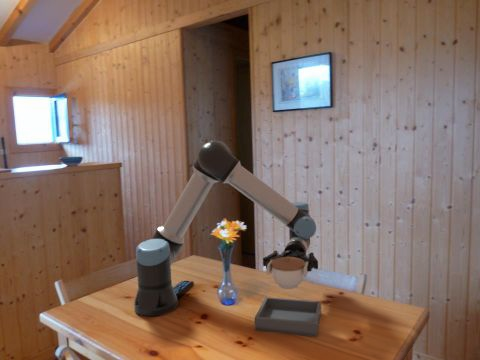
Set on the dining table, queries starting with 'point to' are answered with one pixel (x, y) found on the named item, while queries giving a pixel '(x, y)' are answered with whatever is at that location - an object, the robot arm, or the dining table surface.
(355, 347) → the dining table surface
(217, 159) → the robot arm
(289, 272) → the lidded jar
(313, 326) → the bin
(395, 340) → the dining table surface
